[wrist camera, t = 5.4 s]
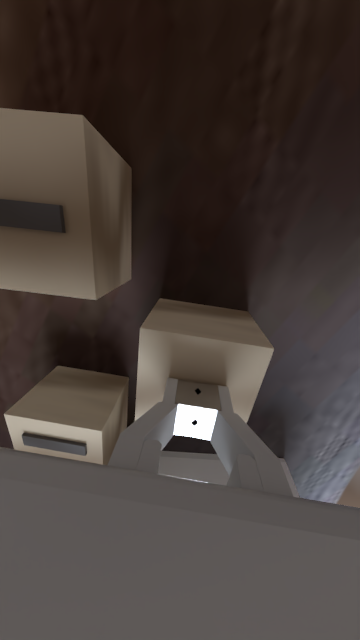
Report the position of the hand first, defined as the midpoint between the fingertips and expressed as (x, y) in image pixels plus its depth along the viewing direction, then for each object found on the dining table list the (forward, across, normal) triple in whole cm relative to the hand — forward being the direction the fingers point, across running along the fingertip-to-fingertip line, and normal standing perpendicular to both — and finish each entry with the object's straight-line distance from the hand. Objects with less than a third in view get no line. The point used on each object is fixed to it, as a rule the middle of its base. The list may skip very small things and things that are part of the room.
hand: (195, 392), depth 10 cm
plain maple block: (+5, 0, 0) cm, 5 cm away
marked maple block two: (+5, +8, +7) cm, 12 cm away
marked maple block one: (+5, +8, -7) cm, 12 cm away
